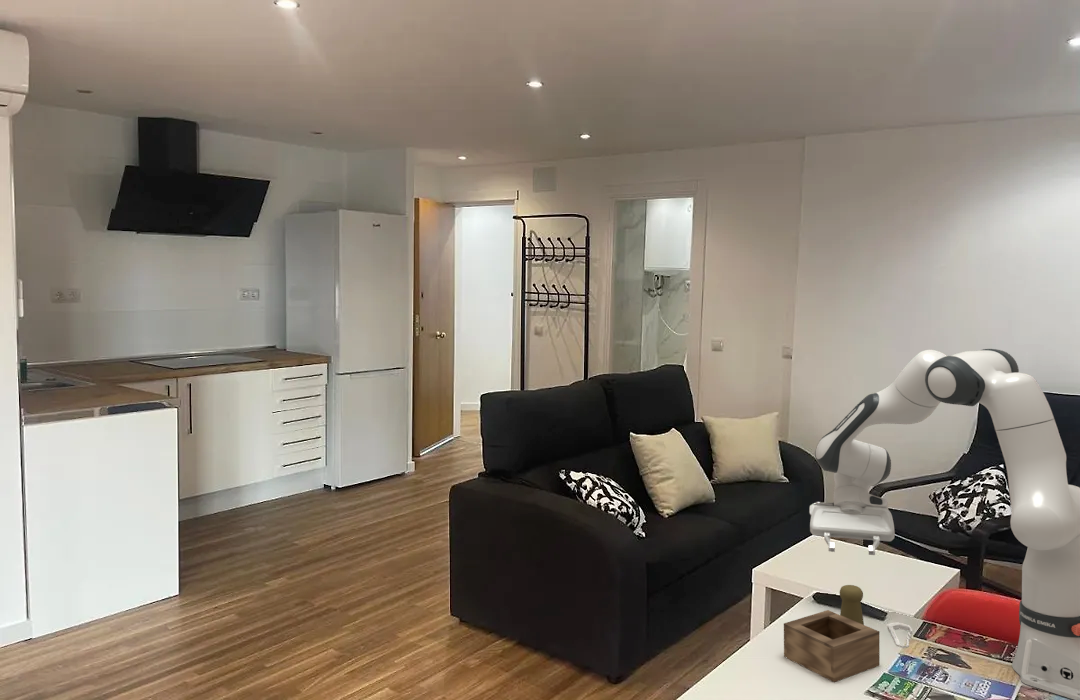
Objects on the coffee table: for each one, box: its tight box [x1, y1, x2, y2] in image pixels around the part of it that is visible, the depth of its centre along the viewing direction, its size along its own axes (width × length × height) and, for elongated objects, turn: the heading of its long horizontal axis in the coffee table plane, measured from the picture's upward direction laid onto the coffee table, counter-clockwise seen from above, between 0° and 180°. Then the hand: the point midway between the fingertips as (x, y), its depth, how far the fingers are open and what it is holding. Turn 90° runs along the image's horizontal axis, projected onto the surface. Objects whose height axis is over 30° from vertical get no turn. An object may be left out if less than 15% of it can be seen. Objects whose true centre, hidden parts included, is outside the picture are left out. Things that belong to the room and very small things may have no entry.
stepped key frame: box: [886, 621, 914, 649], centre depth 186 cm, size 13×5×2 cm, turn 168°
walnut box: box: [783, 609, 881, 683], centre depth 175 cm, size 14×14×8 cm
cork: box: [839, 584, 865, 625], centre depth 189 cm, size 6×6×11 cm
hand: (851, 552), depth 200 cm, fingers open, 8 cm apart
